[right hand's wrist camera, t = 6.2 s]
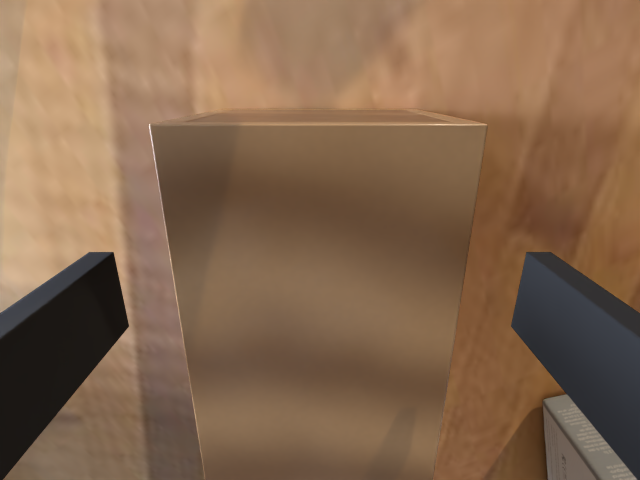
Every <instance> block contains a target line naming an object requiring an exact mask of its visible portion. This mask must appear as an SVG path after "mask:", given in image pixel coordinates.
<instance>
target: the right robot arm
mask: <svg viewBox="0 0 640 480" xmlns="http://www.w3.org/2000/svg"><path fill="white" fill-rule="evenodd" d="M128 327H129V324H128V320H127V315H126V310H125V305H124V300H123V296H122V291H121V286H120V281H119V276H118V272H117V267H116V262H115V257H114V252H89V253H87V254H86V255H85V256H83V257H82V258H80V259H79V260H77V261H76V262H74V263H73V264H71V265H70V266H69V267H67V268H66V269H64V270H63V271H61V272H60V273H58V274H57V275H55V276H54V277H52V278H51V279H50V280H48V281H47V282H45V283H44V284H42V285H41V286H39V287H38V288H36V289H35V290H34V291H32V292H31V293H29V294H28V295H26V296H25V297H23V298H22V299H20V300H19V301H17V302H16V303H15V304H13V305H12V306H10V307H9V308H7V309H6V310H4V311H3V312H1V313H0V480H3V479H4V478H5V476H6V475H7V474H8V473H9V471H10V470H11V469H12V468H13V467H14V465H15V464H16V463H17V462H18V461H19V459H20V458H21V457H22V456H23V454H24V453H25V452H26V451H27V450H28V448H29V447H30V446H31V445H32V443H33V442H34V441H35V440H36V439H37V437H38V436H39V435H40V434H41V433H42V431H43V430H44V429H45V428H46V426H47V425H48V424H49V423H50V422H51V420H52V419H53V418H54V417H55V416H56V414H57V413H58V412H59V411H60V409H61V408H62V407H63V406H64V405H65V403H66V402H67V401H68V400H69V399H70V397H71V396H72V395H73V394H74V392H75V391H76V390H77V389H78V388H79V386H80V385H81V384H82V383H83V381H84V380H85V379H86V378H87V377H88V375H89V374H90V373H91V372H92V371H93V369H94V368H95V367H96V366H97V364H98V363H99V362H100V361H101V360H102V358H103V357H104V356H105V355H106V354H107V352H108V351H109V350H110V349H111V347H112V346H113V345H114V344H115V343H116V341H117V340H118V339H119V338H120V337H121V335H122V334H123V333H124V332H125V330H126V329H127V328H128ZM511 327H512V328H513V329H514V330H515V332H516V333H517V334H518V335H519V337H520V338H521V339H522V340H523V341H524V343H525V344H526V345H527V346H528V347H529V349H530V350H531V351H532V352H533V354H534V355H535V356H536V357H537V358H538V360H539V361H540V362H541V363H542V364H543V366H544V367H545V368H546V369H547V371H548V372H549V373H550V374H551V375H552V377H553V378H554V379H555V380H556V381H557V383H558V384H559V385H560V386H561V388H562V389H563V390H564V391H565V392H566V394H567V395H568V396H569V397H570V399H571V400H572V401H573V402H574V403H575V405H576V406H577V407H578V408H579V409H580V411H581V412H582V413H583V414H584V416H585V417H586V418H587V419H588V420H589V422H590V423H591V424H592V425H593V426H594V428H595V429H596V430H597V431H598V433H599V434H600V435H601V436H602V437H603V439H604V440H605V441H606V442H607V443H608V445H609V446H610V447H611V448H612V450H613V451H614V452H615V453H616V454H617V456H618V457H619V458H620V459H621V461H622V462H623V463H624V464H625V465H626V467H627V468H628V469H629V470H630V471H631V473H632V474H633V475H634V476H635V478H636V479H637V480H640V313H639V312H637V311H636V310H634V309H633V308H631V307H630V306H628V305H627V304H625V303H624V302H623V301H621V300H620V299H618V298H617V297H615V296H614V295H612V294H611V293H609V292H608V291H606V290H605V289H604V288H602V287H601V286H599V285H598V284H596V283H595V282H593V281H592V280H590V279H589V278H588V277H586V276H585V275H583V274H582V273H580V272H579V271H577V270H576V269H574V268H573V267H571V266H570V265H569V264H567V263H566V262H564V261H563V260H561V259H560V258H558V257H557V256H555V255H554V254H553V253H551V252H526V257H525V262H524V267H523V272H522V276H521V281H520V286H519V291H518V296H517V300H516V305H515V310H514V315H513V320H512V324H511Z"/></svg>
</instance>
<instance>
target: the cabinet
mask: <svg viewBox="0 0 640 480" xmlns="http://www.w3.org/2000/svg"><path fill="white" fill-rule="evenodd" d="M487 127H488V125H487V124H485V123H480V122H476V121H471V120H466V119H461V118H457V117H452V116H447V115H443V114H438V113H433V112H428V111H424V110H418V109H220V110H215V111H210V112H205V113H200V114H196V115H191V116H186V117H181V118H177V119H172V120H167V121H162V122H157V123H152V124H150V125H149V128H150V134H151V140H152V147H153V153H154V159H155V166H156V172H157V178H158V185H159V191H160V197H161V204H162V210H163V216H164V223H165V229H166V235H167V242H168V248H169V254H170V261H171V267H172V273H173V280H174V286H175V292H176V299H177V305H178V311H179V318H180V324H181V330H182V337H183V343H184V349H185V356H186V362H187V368H188V375H189V381H190V387H191V394H192V400H193V406H194V413H195V419H196V425H197V432H198V438H199V444H200V451H201V457H202V463H203V470H204V476H205V480H433V475H434V469H435V463H436V456H437V450H438V443H439V437H440V430H441V424H442V417H443V411H444V405H445V398H446V392H447V385H448V379H449V372H450V366H451V359H452V353H453V346H454V340H455V334H456V327H457V321H458V314H459V308H460V301H461V295H462V288H463V282H464V276H465V269H466V263H467V256H468V250H469V243H470V237H471V230H472V224H473V218H474V211H475V205H476V198H477V192H478V185H479V179H480V172H481V166H482V159H483V153H484V147H485V140H486V134H487Z"/></svg>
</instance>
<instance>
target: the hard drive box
mask: <svg viewBox="0 0 640 480" xmlns="http://www.w3.org/2000/svg"><path fill="white" fill-rule="evenodd" d="M543 415H544V432H545V444H546V459H547V472H548V480H637V479H636V478H635V476H634V475H633V474H632V473H631V471H630V470H629V469H628V468H627V467H626V465H625V464H624V463H623V462H622V461H621V459H620V458H619V457H618V456H617V454H616V453H615V452H614V451H613V450H612V448H611V447H610V446H609V445H608V443H607V442H606V441H605V440H604V439H603V437H602V436H601V435H600V434H599V433H598V431H597V430H596V429H595V428H594V426H593V425H592V424H591V423H590V422H589V420H588V419H587V418H586V417H585V416H584V414H583V413H582V412H581V411H580V409H579V408H578V407H577V406H576V405H575V403H574V402H573V401H572V400H571V399H570V397H569V396H568V395H567V394H566V395H561V396H556V397H551V398H546V399H544V400H543Z"/></svg>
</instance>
